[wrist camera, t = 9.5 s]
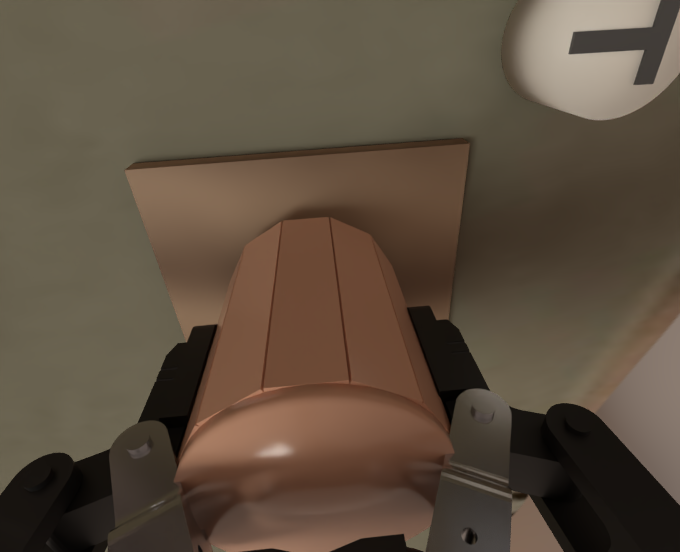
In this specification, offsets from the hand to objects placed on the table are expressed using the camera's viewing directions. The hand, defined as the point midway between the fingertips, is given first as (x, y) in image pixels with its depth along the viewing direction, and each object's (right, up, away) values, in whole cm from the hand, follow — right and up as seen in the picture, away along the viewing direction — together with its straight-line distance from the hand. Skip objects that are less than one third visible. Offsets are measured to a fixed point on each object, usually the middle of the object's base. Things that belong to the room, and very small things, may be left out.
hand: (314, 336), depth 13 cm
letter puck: (+8, +10, 0) cm, 13 cm away
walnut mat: (0, +2, +4) cm, 5 cm away
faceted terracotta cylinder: (0, +1, +2) cm, 3 cm away
